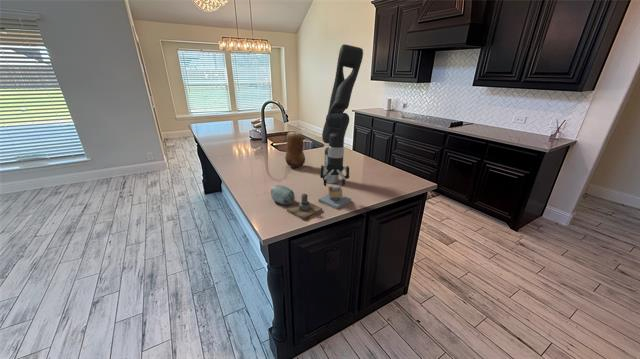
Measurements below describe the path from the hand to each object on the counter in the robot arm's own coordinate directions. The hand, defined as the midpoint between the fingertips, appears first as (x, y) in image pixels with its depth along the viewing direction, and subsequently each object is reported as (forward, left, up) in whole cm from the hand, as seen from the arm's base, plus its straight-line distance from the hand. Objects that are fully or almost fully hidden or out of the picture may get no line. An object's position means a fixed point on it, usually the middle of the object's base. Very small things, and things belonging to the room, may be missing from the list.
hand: (334, 185), depth 127 cm
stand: (-3, -18, -9) cm, 20 cm away
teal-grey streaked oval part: (-18, -19, -9) cm, 28 cm away
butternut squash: (-52, +21, -9) cm, 57 cm away
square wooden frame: (+1, 0, -5) cm, 5 cm away
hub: (+1, 0, -9) cm, 9 cm away
